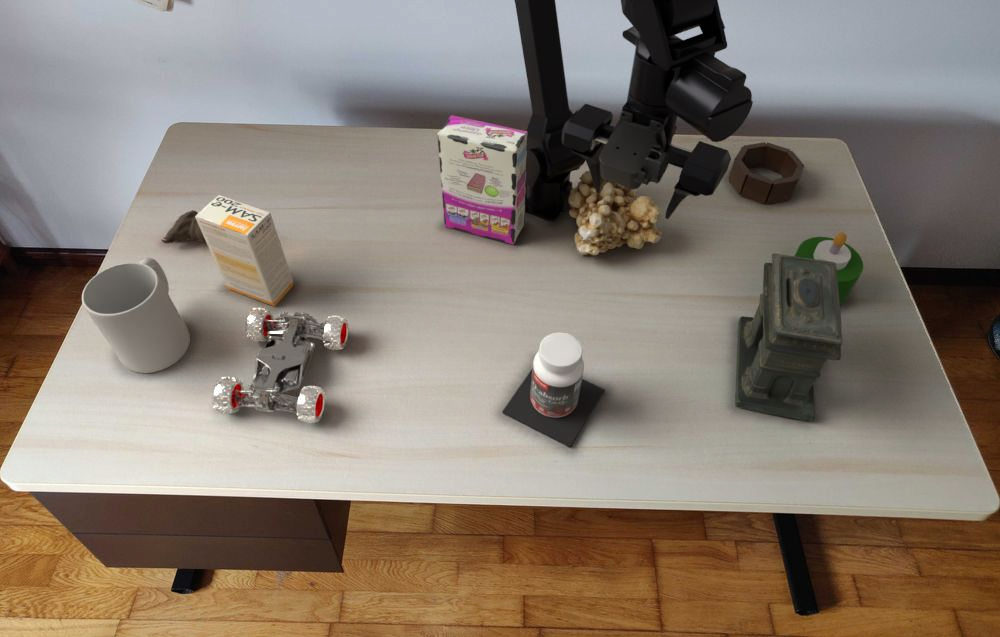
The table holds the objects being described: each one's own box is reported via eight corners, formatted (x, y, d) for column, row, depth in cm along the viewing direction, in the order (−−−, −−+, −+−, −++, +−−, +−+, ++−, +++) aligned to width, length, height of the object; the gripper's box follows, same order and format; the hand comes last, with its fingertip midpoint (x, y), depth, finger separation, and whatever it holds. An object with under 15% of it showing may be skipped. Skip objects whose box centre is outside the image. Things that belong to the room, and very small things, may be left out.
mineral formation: (575, 270, 97) (545, 196, 105) (660, 264, 101) (624, 193, 109) (592, 229, 91) (558, 154, 99) (682, 224, 95) (641, 153, 103)
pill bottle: (523, 410, 82) (526, 360, 74) (538, 373, 85) (543, 322, 78) (570, 425, 80) (578, 376, 73) (583, 387, 84) (593, 336, 76)
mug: (178, 374, 85) (144, 317, 77) (109, 373, 85) (67, 315, 77) (207, 301, 93) (178, 241, 85) (143, 300, 93) (108, 240, 85)
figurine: (162, 252, 100) (238, 258, 98) (146, 230, 96) (226, 235, 94) (181, 221, 104) (256, 226, 102) (168, 198, 100) (244, 203, 98)
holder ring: (721, 189, 108) (728, 169, 105) (741, 156, 114) (748, 135, 111) (783, 211, 105) (792, 191, 102) (801, 176, 111) (810, 155, 108)
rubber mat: (502, 413, 82) (502, 411, 82) (538, 360, 87) (539, 358, 87) (570, 448, 79) (570, 446, 79) (604, 391, 84) (604, 389, 84)
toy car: (318, 431, 80) (309, 407, 76) (218, 419, 81) (204, 395, 77) (352, 330, 90) (345, 304, 86) (262, 321, 91) (251, 295, 87)
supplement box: (296, 284, 95) (273, 211, 85) (274, 308, 92) (248, 235, 82) (247, 265, 97) (218, 192, 87) (224, 288, 94) (192, 215, 84)
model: (733, 322, 91) (768, 239, 80) (805, 334, 90) (851, 251, 79) (734, 410, 83) (773, 331, 71) (814, 424, 81) (866, 345, 70)
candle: (771, 282, 96) (795, 228, 88) (808, 256, 99) (835, 202, 91) (822, 319, 92) (852, 266, 84) (859, 291, 95) (891, 237, 87)
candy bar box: (525, 224, 103) (530, 130, 90) (514, 246, 100) (517, 152, 87) (456, 206, 106) (450, 112, 93) (442, 227, 103) (435, 133, 90)
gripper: (542, 103, 73) (536, 215, 85) (713, 160, 67) (680, 272, 79) (589, 55, 79) (576, 166, 91) (749, 104, 73) (713, 215, 85)
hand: (633, 204), depth 86 cm, fingers open, 9 cm apart
